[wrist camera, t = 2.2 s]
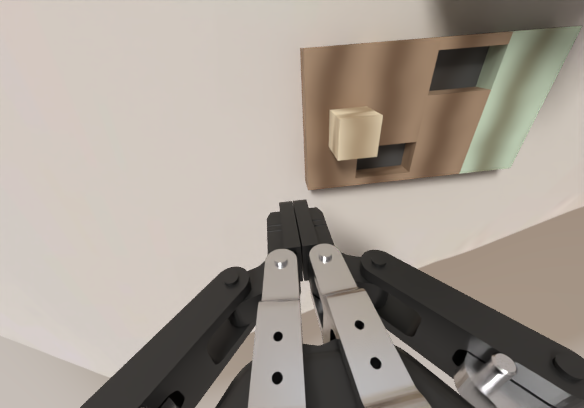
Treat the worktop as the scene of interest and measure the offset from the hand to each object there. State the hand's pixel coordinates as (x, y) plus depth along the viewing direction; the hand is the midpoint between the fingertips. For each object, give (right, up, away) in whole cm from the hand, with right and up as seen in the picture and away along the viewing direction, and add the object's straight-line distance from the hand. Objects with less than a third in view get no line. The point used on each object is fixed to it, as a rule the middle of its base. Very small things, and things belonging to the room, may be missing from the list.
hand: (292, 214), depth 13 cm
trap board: (+15, +11, +15) cm, 24 cm away
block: (+6, +9, +12) cm, 17 cm away
